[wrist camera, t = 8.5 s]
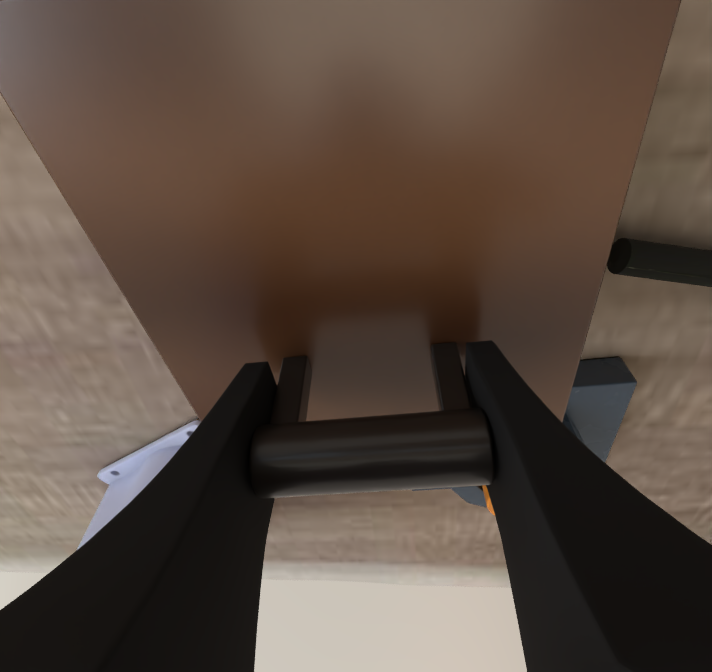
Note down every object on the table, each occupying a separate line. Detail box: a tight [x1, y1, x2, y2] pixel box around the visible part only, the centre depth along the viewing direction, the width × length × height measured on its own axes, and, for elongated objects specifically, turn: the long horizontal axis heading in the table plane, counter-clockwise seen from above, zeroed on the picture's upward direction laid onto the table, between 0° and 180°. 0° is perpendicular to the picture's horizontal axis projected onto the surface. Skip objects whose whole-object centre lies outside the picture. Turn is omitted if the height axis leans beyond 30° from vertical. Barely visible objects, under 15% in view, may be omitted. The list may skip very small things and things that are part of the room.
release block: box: [412, 357, 637, 507], centre depth 22 cm, size 10×8×4 cm
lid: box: [0, 0, 681, 499], centre depth 9 cm, size 14×11×4 cm
